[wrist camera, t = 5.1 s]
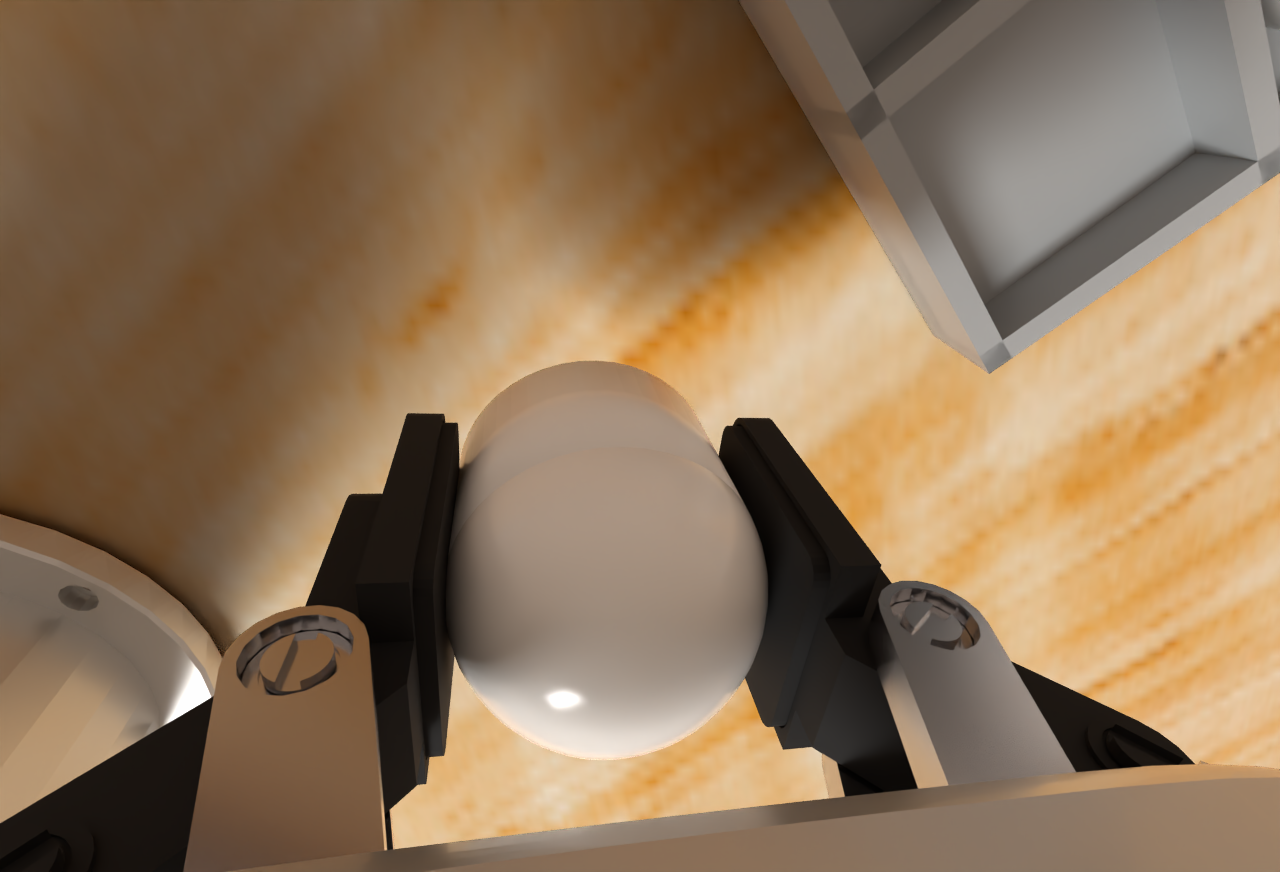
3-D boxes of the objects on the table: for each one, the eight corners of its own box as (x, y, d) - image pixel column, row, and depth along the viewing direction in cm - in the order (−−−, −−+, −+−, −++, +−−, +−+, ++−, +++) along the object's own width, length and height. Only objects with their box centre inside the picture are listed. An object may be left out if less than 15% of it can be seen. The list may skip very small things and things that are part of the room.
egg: (577, 609, 13) (610, 877, 9) (402, 477, 11) (330, 742, 7) (754, 475, 12) (888, 698, 8) (600, 305, 10) (667, 480, 6)
